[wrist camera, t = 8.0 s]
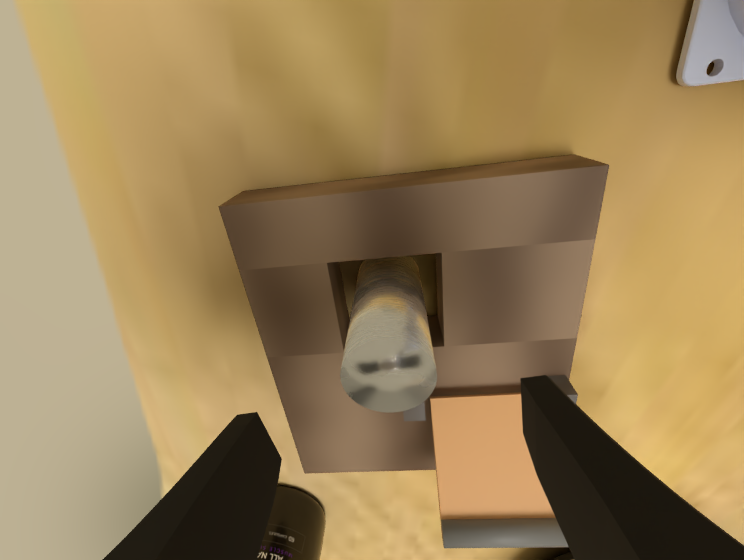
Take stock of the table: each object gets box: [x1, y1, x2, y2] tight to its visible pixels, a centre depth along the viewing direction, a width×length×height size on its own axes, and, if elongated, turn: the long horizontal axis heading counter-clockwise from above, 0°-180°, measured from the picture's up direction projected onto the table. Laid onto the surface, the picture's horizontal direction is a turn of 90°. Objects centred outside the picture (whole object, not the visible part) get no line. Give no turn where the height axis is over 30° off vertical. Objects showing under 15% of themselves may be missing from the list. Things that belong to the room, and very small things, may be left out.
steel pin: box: [340, 256, 437, 412], centre depth 14 cm, size 3×3×7 cm
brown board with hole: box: [219, 155, 609, 473], centre depth 17 cm, size 14×16×4 cm
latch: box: [429, 392, 569, 548], centre depth 15 cm, size 5×6×1 cm
